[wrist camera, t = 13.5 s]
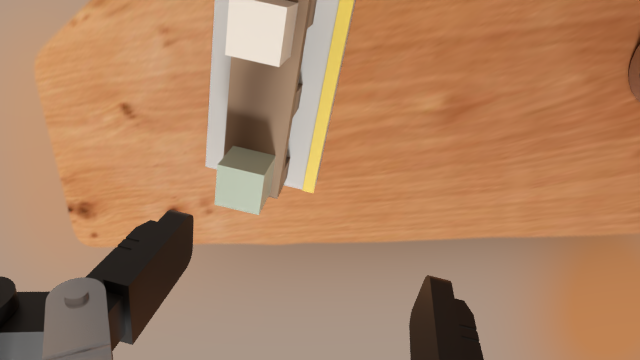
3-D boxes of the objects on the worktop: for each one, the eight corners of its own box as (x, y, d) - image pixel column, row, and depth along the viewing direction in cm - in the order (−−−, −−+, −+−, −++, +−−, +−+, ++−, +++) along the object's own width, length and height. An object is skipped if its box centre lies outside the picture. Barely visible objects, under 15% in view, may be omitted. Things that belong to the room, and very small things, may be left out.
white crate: (298, 2, 30) (287, 7, 27) (290, 56, 32) (279, 67, 29) (247, -9, 30) (229, -6, 27) (242, 45, 32) (225, 55, 29)
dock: (358, -12, 36) (356, -10, 33) (317, 179, 46) (313, 193, 43) (229, -40, 36) (216, -41, 34) (215, 155, 46) (204, 167, 43)
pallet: (317, -6, 34) (309, -2, 30) (287, 177, 43) (277, 198, 39) (253, -20, 34) (237, -18, 30) (236, 165, 43) (221, 185, 39)
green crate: (275, 155, 37) (264, 175, 33) (270, 192, 38) (258, 215, 35) (233, 145, 37) (217, 164, 33) (229, 183, 39) (214, 204, 35)
